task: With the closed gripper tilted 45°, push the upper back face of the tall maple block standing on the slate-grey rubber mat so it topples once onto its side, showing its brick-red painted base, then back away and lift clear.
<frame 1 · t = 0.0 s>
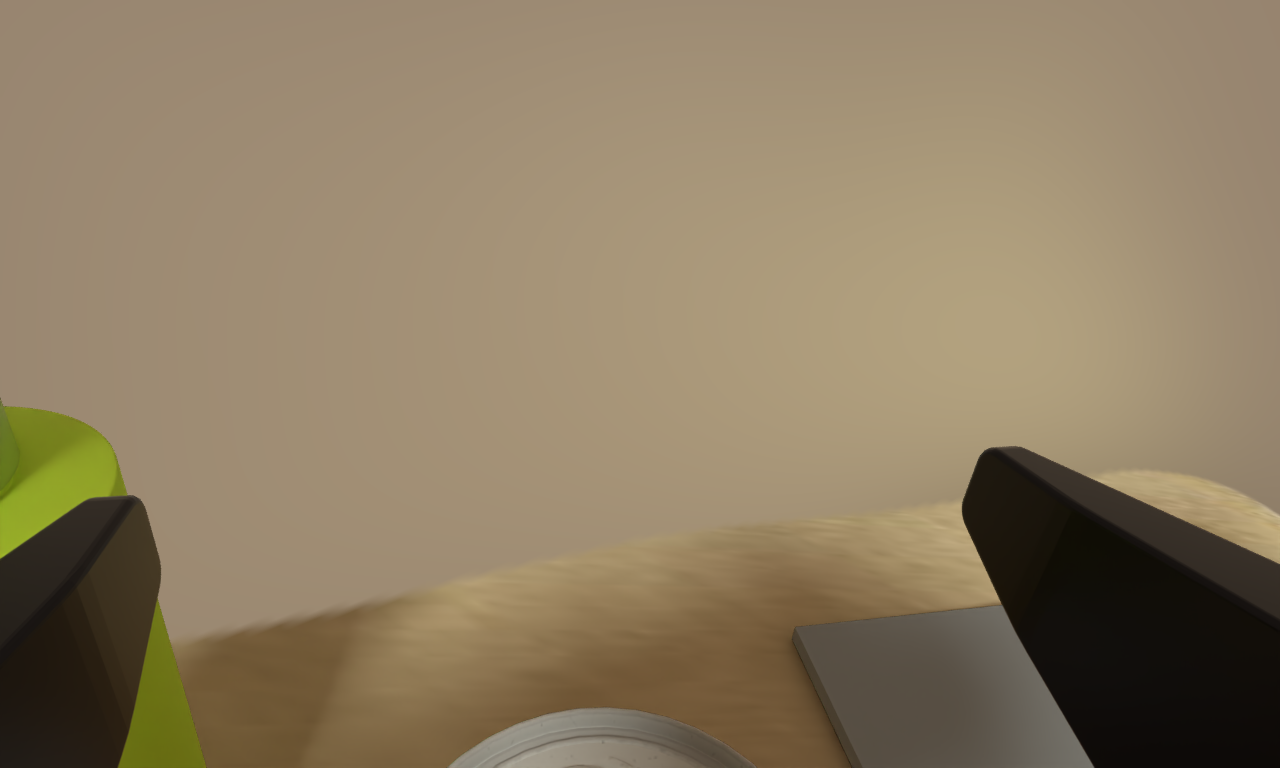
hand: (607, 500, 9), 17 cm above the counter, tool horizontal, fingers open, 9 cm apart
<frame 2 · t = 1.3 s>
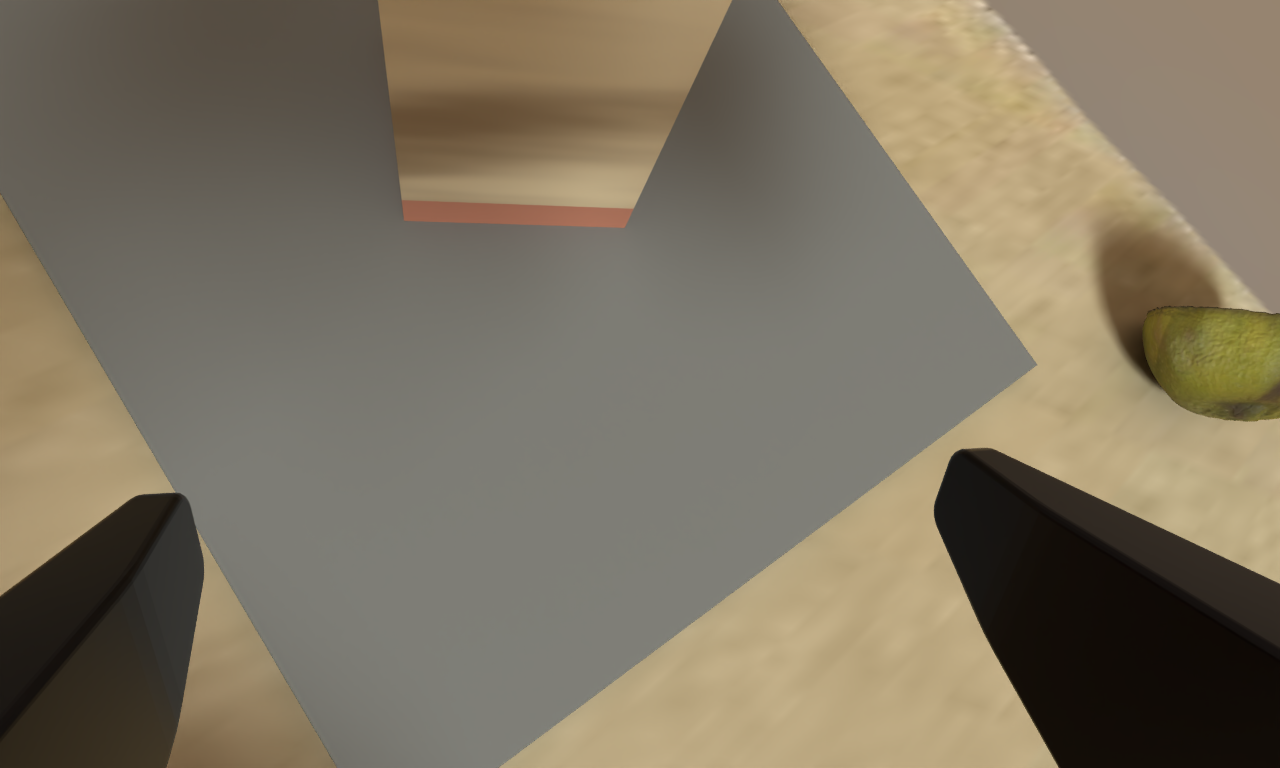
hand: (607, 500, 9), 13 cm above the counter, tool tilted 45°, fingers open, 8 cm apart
slate mat: (501, 180, 23), on the counter
maple block: (514, 126, 23), point 1 cm above the counter, touching slate mat
lime: (1171, 373, 27), on the counter
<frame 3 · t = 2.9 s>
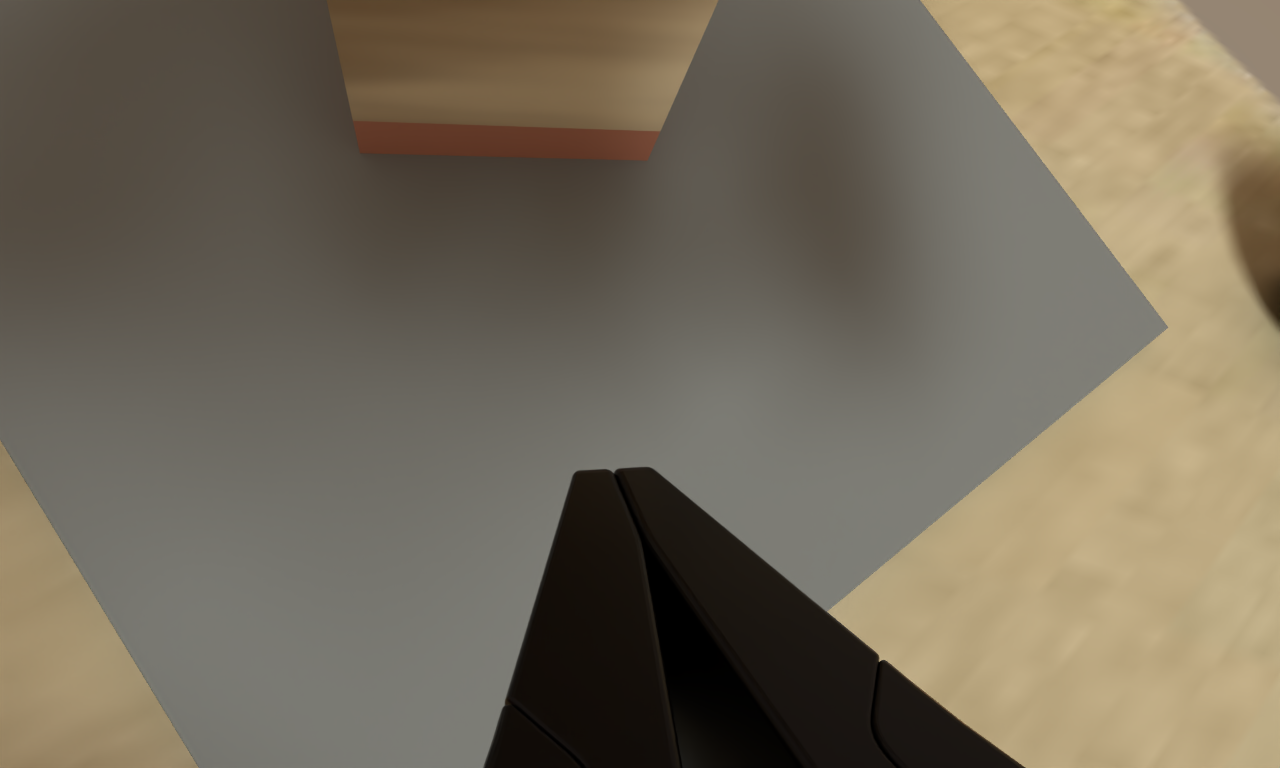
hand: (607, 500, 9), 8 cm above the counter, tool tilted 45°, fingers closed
slate mat: (487, 103, 18), on the counter
maple block: (501, 33, 18), point 1 cm above the counter, touching slate mat
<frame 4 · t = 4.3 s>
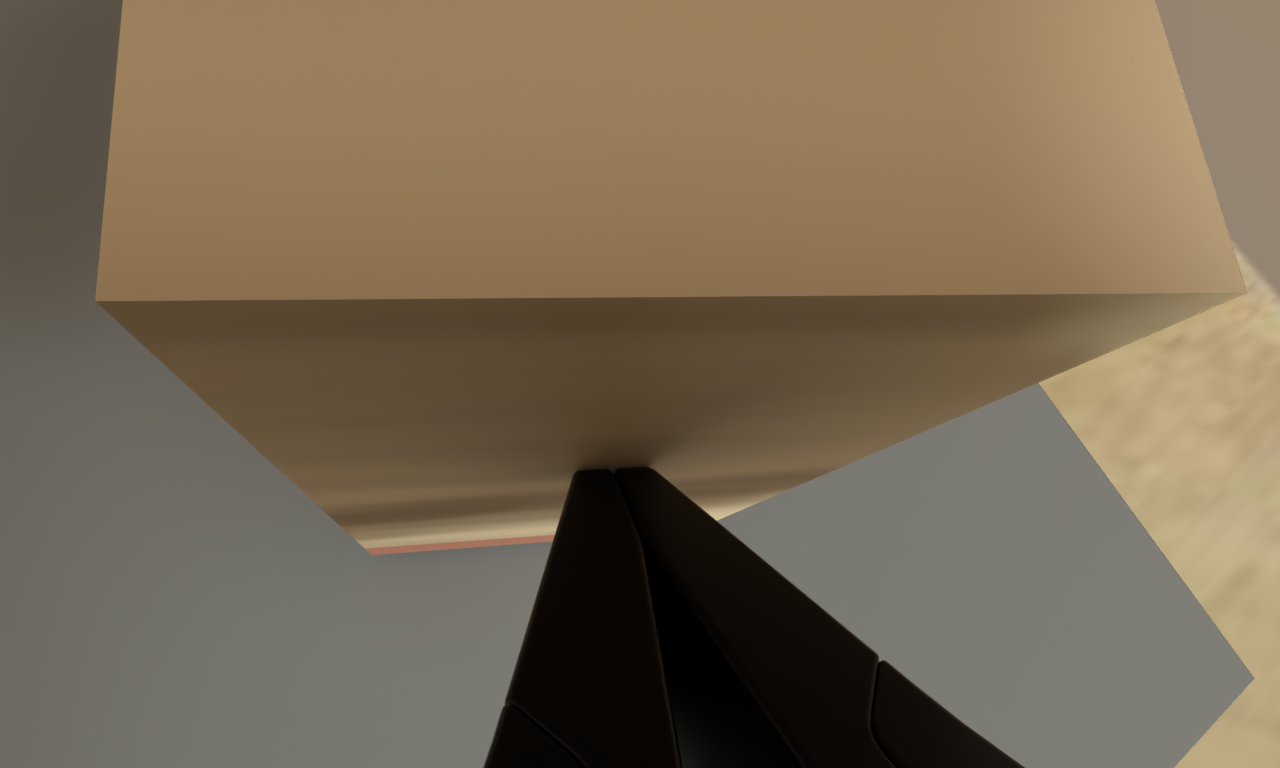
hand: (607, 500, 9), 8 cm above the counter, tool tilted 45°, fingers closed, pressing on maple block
slate mat: (512, 464, 16), on the counter
maple block: (530, 388, 16), point 1 cm above the counter, touching gripper, slate mat
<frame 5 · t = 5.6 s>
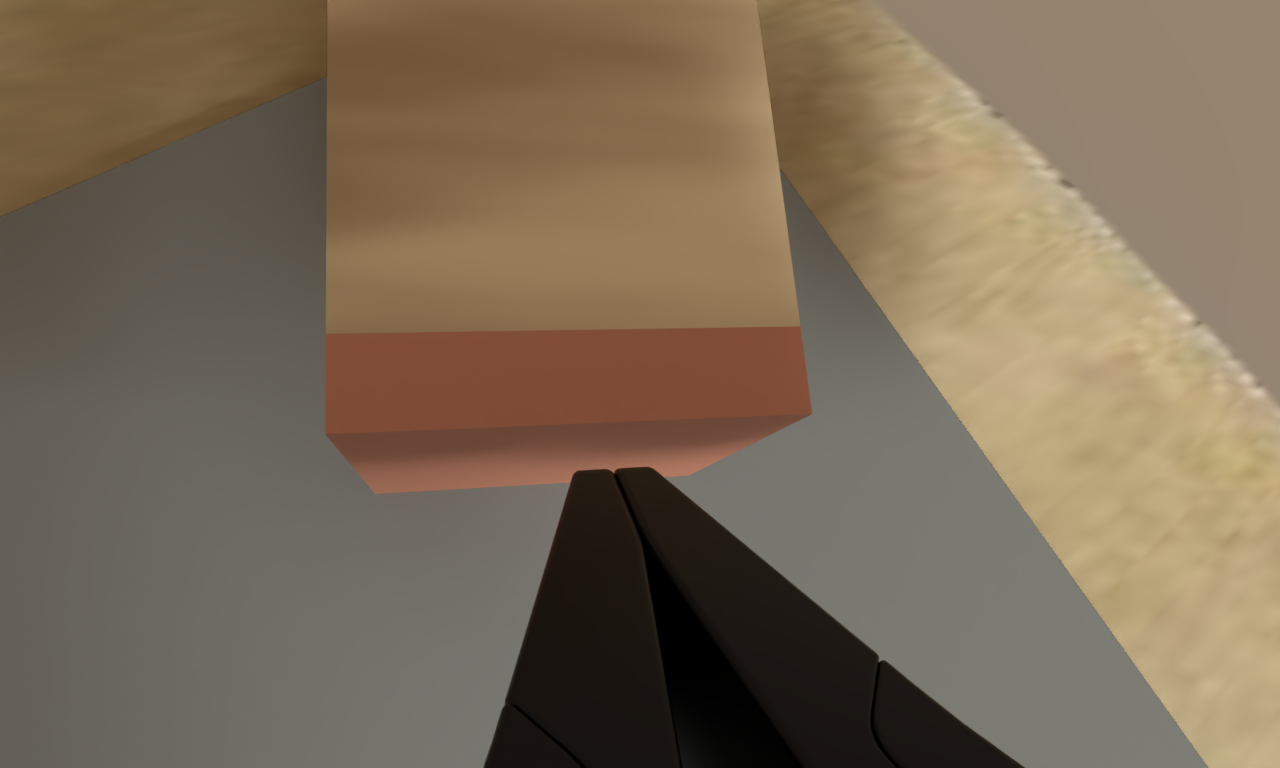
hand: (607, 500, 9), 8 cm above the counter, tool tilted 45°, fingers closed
slate mat: (528, 725, 15), on the counter
maple block: (556, 460, 13), point 4 cm above the counter, tilted 90°, touching slate mat
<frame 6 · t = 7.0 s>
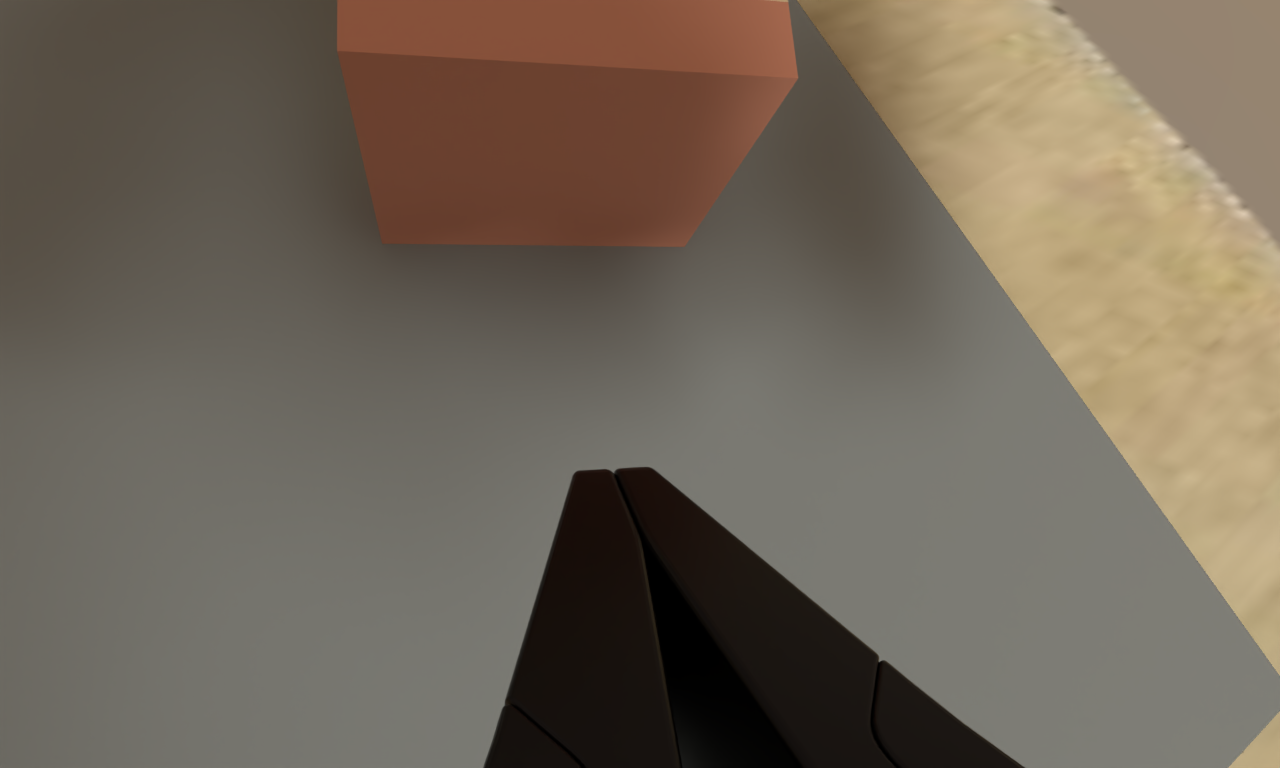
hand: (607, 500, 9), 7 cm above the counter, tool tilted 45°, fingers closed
slate mat: (528, 469, 16), on the counter
maple block: (556, 174, 13), point 4 cm above the counter, tilted 90°, touching slate mat
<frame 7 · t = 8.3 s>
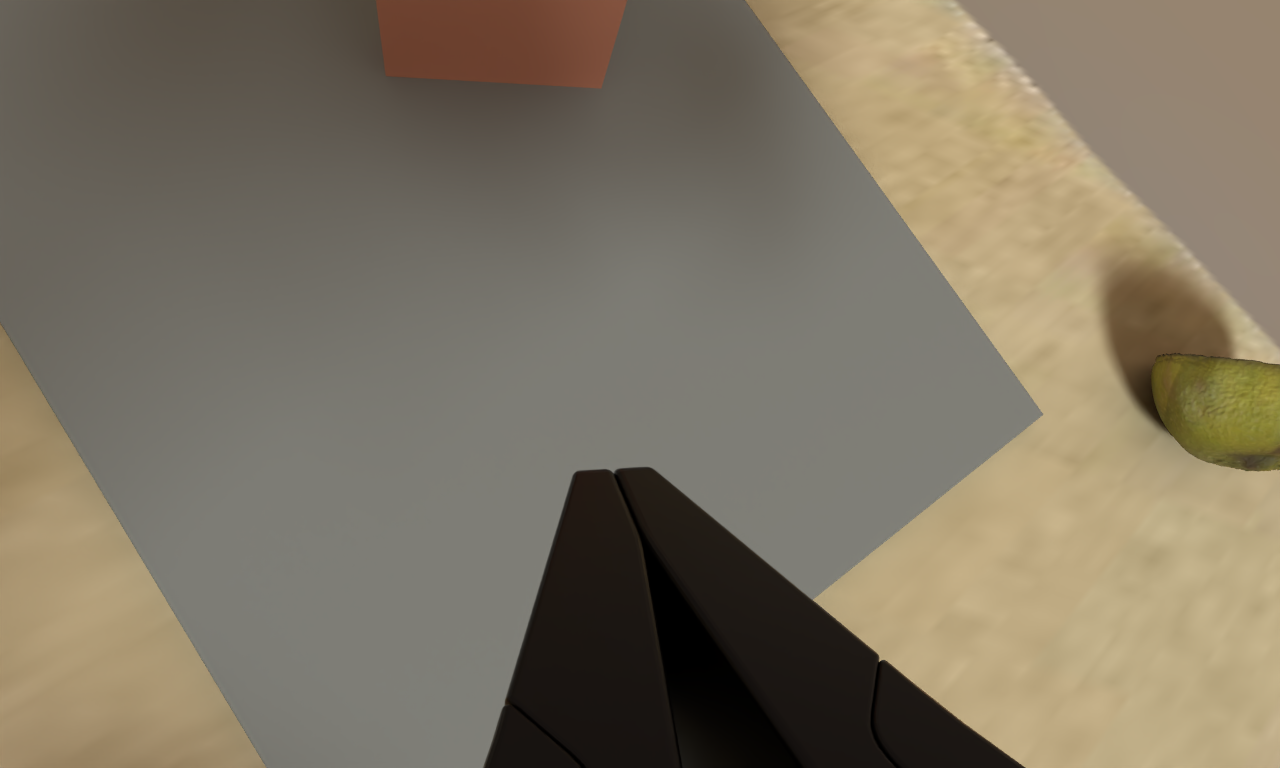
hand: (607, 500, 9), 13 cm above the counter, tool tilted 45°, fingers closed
slate mat: (488, 235, 23), on the counter
maple block: (502, 10, 20), point 4 cm above the counter, tilted 90°, touching slate mat
lime: (1180, 416, 26), on the counter
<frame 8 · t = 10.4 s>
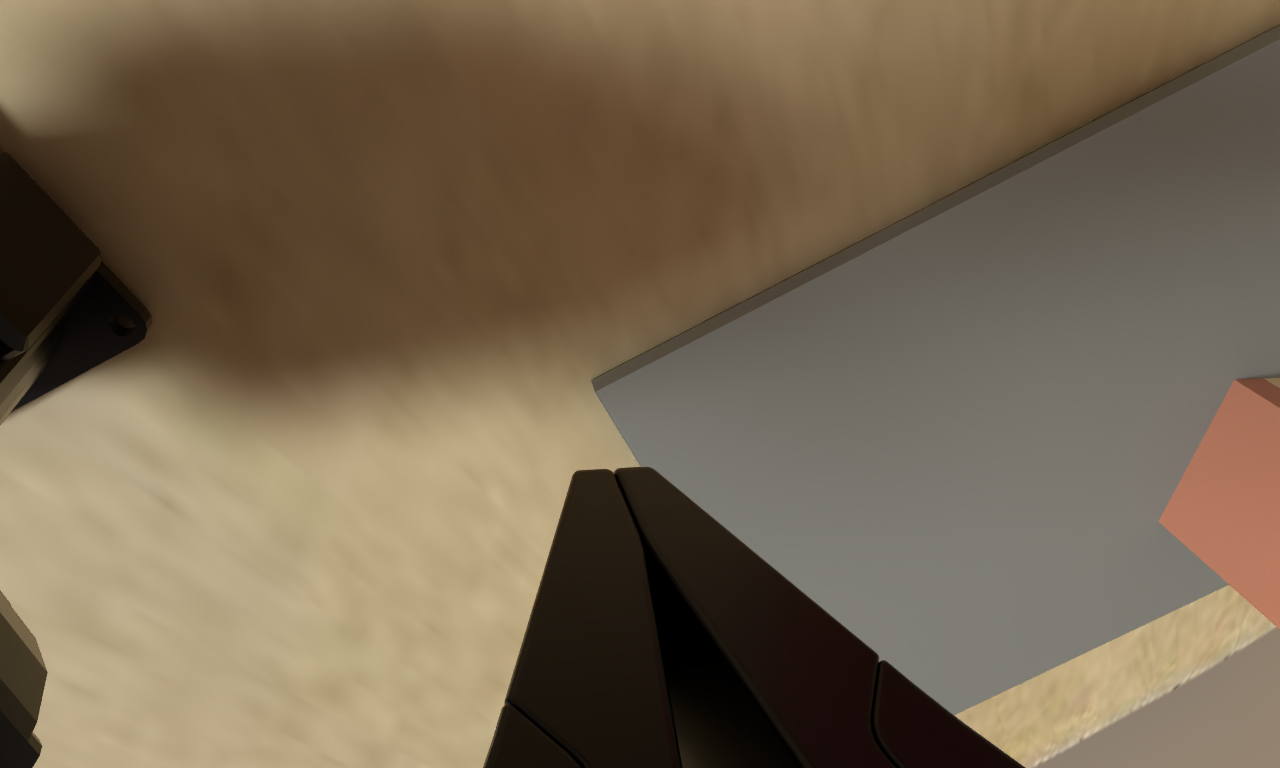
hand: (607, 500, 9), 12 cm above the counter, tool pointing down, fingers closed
slate mat: (1078, 441, 27), on the counter
maple block: (1268, 510, 26), point 4 cm above the counter, tilted 90°, touching slate mat
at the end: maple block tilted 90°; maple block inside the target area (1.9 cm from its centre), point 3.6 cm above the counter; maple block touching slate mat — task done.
